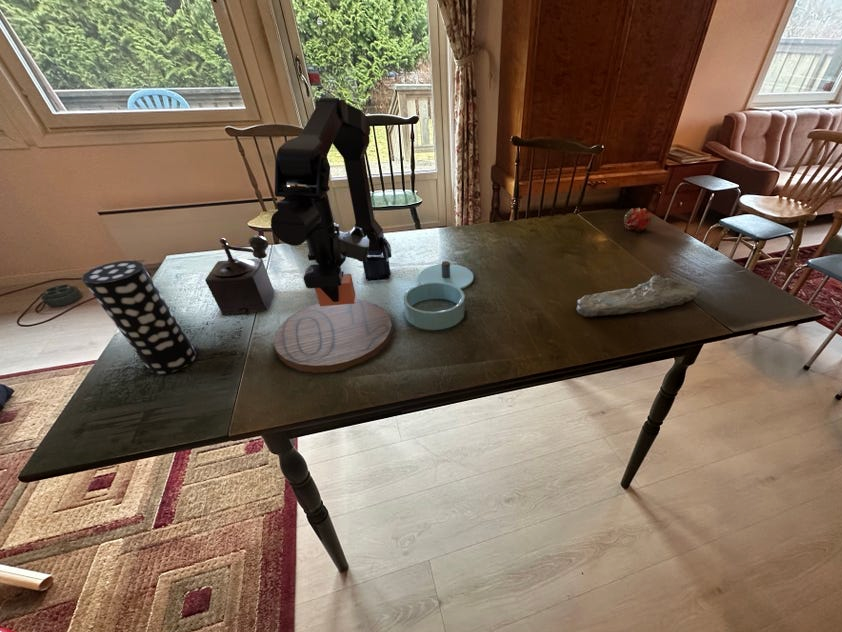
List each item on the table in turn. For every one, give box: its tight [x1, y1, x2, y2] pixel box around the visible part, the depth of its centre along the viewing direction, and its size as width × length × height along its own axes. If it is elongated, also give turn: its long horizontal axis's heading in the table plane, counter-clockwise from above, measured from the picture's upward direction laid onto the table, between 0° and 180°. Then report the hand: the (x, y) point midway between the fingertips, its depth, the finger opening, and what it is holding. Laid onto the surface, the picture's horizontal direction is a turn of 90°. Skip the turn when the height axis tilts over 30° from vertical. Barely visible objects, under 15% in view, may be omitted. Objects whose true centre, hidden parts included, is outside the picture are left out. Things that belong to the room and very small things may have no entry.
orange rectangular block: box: [314, 273, 356, 307], centre depth 78 cm, size 7×4×5 cm, turn 102°
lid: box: [418, 260, 474, 290], centre depth 104 cm, size 15×15×5 cm
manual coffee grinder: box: [204, 235, 275, 316], centre depth 89 cm, size 16×11×18 cm
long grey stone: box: [576, 275, 699, 318], centre depth 96 cm, size 35×5×10 cm
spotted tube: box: [81, 260, 198, 375], centre depth 70 cm, size 8×8×20 cm
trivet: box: [273, 299, 393, 374], centre depth 84 cm, size 25×25×2 cm
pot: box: [402, 282, 466, 331], centre depth 90 cm, size 14×14×5 cm
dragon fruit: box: [622, 207, 652, 232], centre depth 135 cm, size 8×8×12 cm
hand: (337, 296), depth 79 cm, fingers closed on orange rectangular block, 4 cm apart
